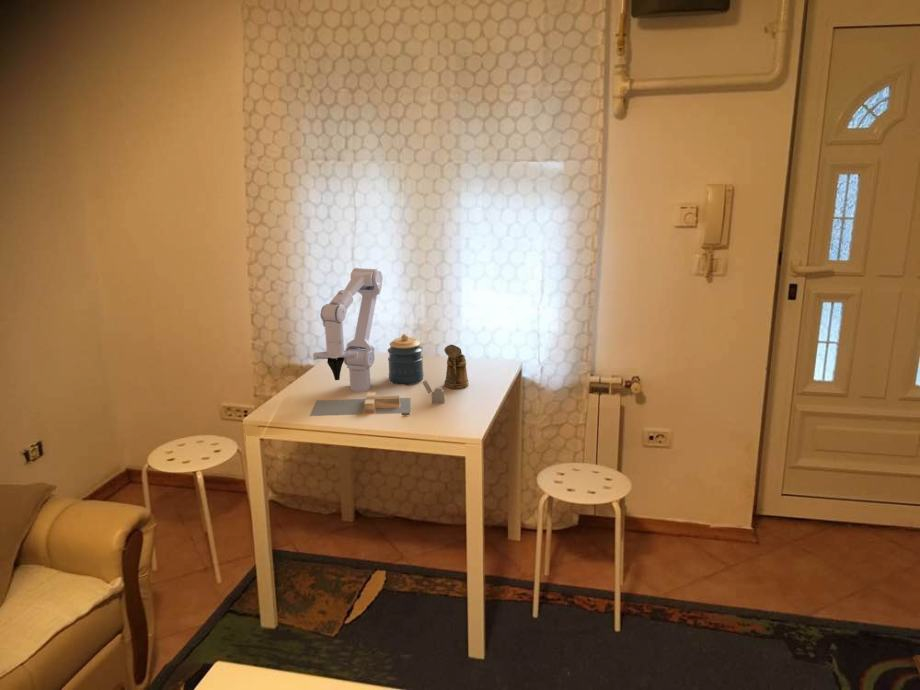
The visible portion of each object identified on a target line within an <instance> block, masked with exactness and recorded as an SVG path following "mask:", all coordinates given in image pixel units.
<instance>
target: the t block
mask: <svg viewBox="0 0 920 690" xmlns="http://www.w3.org/2000/svg"><path fill="white" fill-rule="evenodd" d="M399 398H400V394H397V395H395V394H393V395H377V391H366V395H365V399H366V400H365V404H364V407H365V413H374V411H375V408H380V407H399V406H400V399H399Z"/></svg>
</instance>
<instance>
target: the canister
mask: <svg viewBox="0 0 920 690" xmlns="http://www.w3.org/2000/svg"><path fill="white" fill-rule="evenodd" d="M389 346H390V347H388V349H387V353H388V356H389V357H388V358H387V360H388V379H389V382H390V383H392V384H395V385H405V386H408V385H415V384H419V383H421V382H423V380H424V375H425V374H424V368H423V367H424V361H423V360H424V356H423V355H422V352H423V350H424V349H423V347H422V346H421V341H419V340H417V339H416V338H414V337H409V335H408V334H407V333H403V334H402V335H401V336H400V337H397V338H395V339H393V340H392V341H390V343H389Z"/></svg>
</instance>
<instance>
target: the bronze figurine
mask: <svg viewBox="0 0 920 690" xmlns="http://www.w3.org/2000/svg"><path fill="white" fill-rule="evenodd" d="M444 353H445V355H446V356H448V357H447V359H446V365H447V367H446V374H445V380H444V387H445V388H447V389H451V390H460V389H462V388H463V389H466V388H468V387H469V379H468V372H467V366H466V365H467V360H466V358H465V357H466V356H465V354H462V353H463V352H462V349H461V348H460V347H459V346H457V345H454V344H449V345H446V347H445V348H444Z"/></svg>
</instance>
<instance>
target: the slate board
mask: <svg viewBox="0 0 920 690" xmlns="http://www.w3.org/2000/svg"><path fill="white" fill-rule="evenodd" d="M399 399H400V406H399V407H380V408H375V411H374V413H365V407H364V404H365V400H366V398H357V399H356V398H354V399H353V398H352V399H349V398H348V399H318V400H317V399H316V401H315V403H314V405H313V408H312V410H311V411H310V412H311V413H310V414H309V417H315V416H316V417H317V416H320V417H321V416H349V415H350V416H353V415H382V414H383V415H385V414H388V415H389V414H401V415H409V416H410V413H411V397H399Z"/></svg>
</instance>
